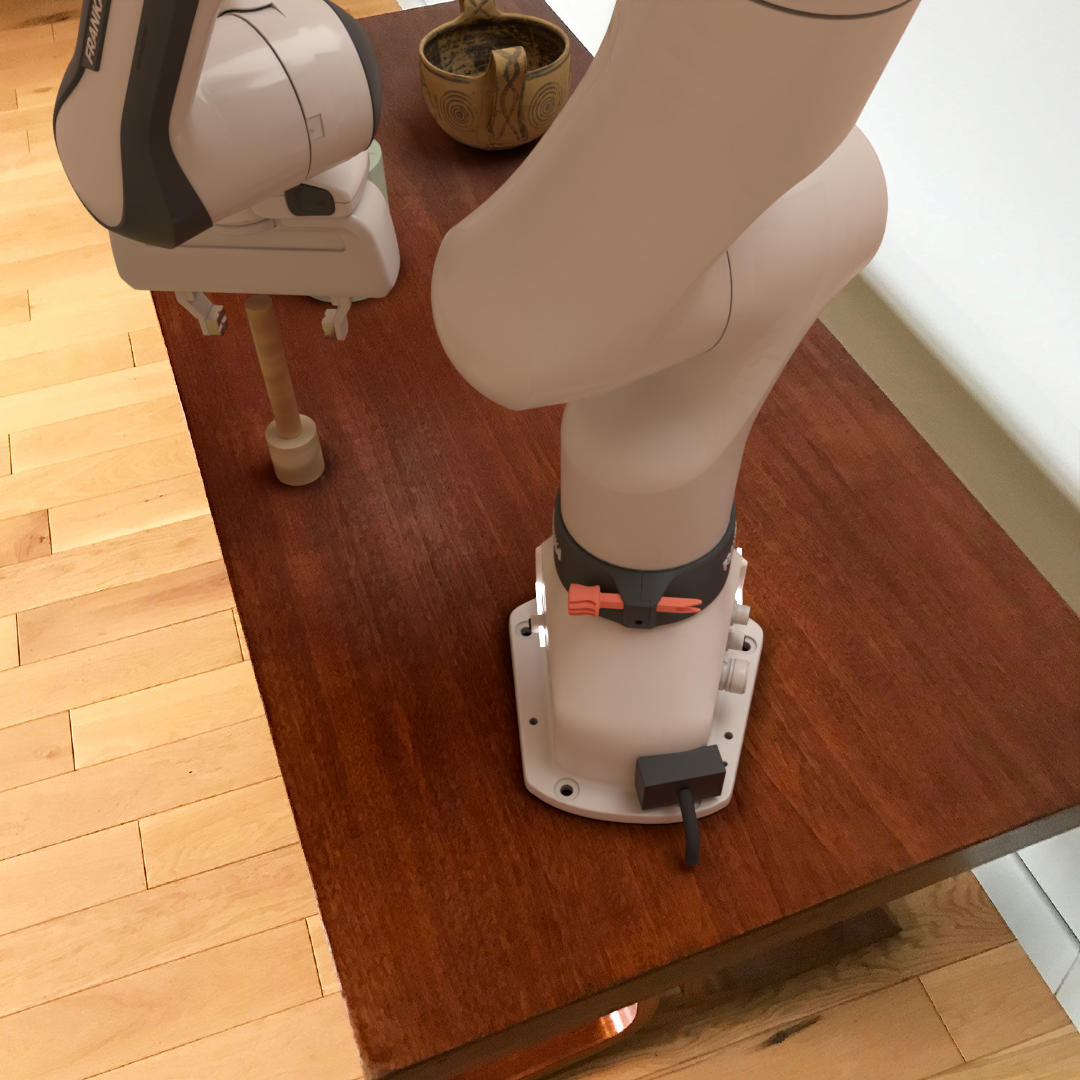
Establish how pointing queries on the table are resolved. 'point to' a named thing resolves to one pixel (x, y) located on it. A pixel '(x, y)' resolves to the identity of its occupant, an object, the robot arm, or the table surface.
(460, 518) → the table surface
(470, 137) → the ceramic bowl
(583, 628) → the robot arm
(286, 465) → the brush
